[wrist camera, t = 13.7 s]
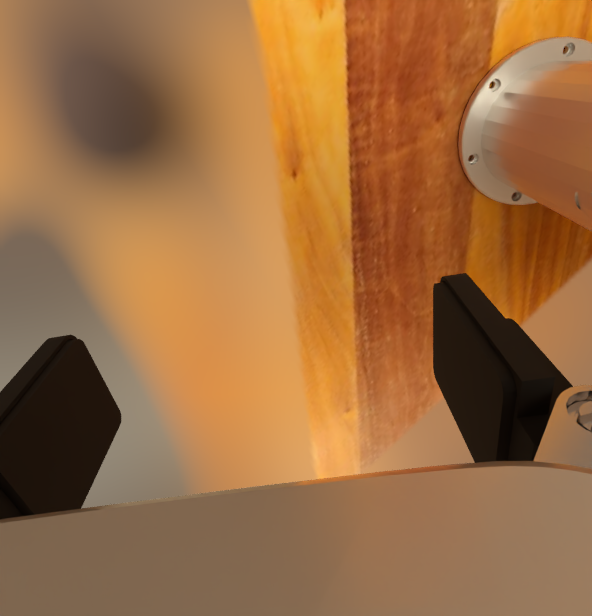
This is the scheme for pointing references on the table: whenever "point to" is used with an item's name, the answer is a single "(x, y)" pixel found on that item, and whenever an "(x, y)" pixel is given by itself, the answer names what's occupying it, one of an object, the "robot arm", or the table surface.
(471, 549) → the robot arm
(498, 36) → the table surface
